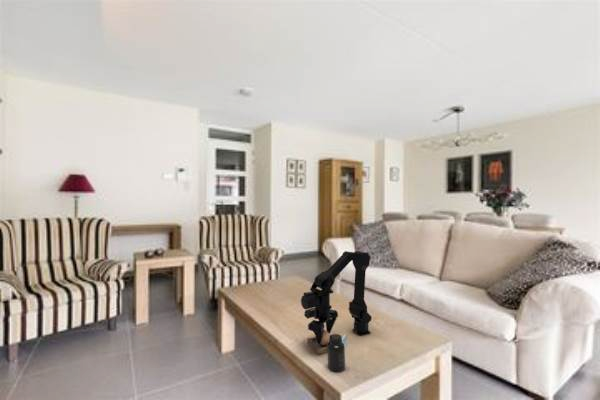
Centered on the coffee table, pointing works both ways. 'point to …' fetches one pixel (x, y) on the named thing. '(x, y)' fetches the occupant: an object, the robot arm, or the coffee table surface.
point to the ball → (325, 338)
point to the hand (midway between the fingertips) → (323, 338)
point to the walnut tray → (317, 346)
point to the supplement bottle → (336, 353)
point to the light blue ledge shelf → (344, 340)
